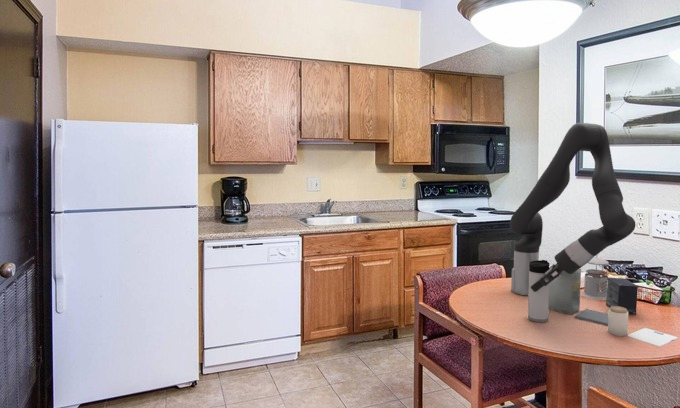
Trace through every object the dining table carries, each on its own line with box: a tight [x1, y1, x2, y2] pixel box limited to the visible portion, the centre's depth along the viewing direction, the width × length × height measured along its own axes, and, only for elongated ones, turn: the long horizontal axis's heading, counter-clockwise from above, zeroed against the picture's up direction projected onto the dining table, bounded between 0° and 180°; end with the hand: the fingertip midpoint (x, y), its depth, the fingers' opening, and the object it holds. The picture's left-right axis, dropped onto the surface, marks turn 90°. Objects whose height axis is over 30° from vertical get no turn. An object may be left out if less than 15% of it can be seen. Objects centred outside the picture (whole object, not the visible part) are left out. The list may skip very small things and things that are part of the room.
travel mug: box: [527, 259, 550, 324], centre depth 149 cm, size 6×7×20 cm
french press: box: [580, 256, 609, 301], centre depth 174 cm, size 10×12×25 cm
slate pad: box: [574, 308, 608, 327], centre depth 150 cm, size 10×10×1 cm
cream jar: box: [607, 306, 629, 337], centre depth 137 cm, size 5×5×8 cm
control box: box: [548, 268, 582, 315], centre depth 159 cm, size 9×7×15 cm
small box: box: [605, 276, 639, 316], centre depth 158 cm, size 11×6×10 cm, turn 168°
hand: (535, 286), depth 150 cm, fingers open, 8 cm apart
